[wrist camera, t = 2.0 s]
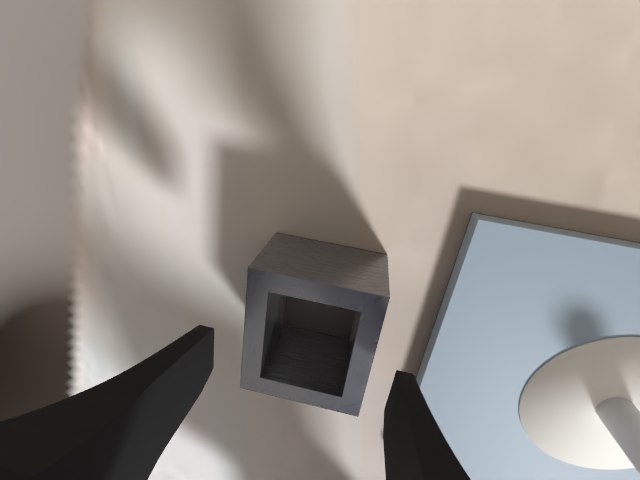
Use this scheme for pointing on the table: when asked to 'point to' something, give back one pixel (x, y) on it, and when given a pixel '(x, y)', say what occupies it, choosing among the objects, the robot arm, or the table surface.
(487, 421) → the board
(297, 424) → the table surface
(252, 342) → the hollow square tube
